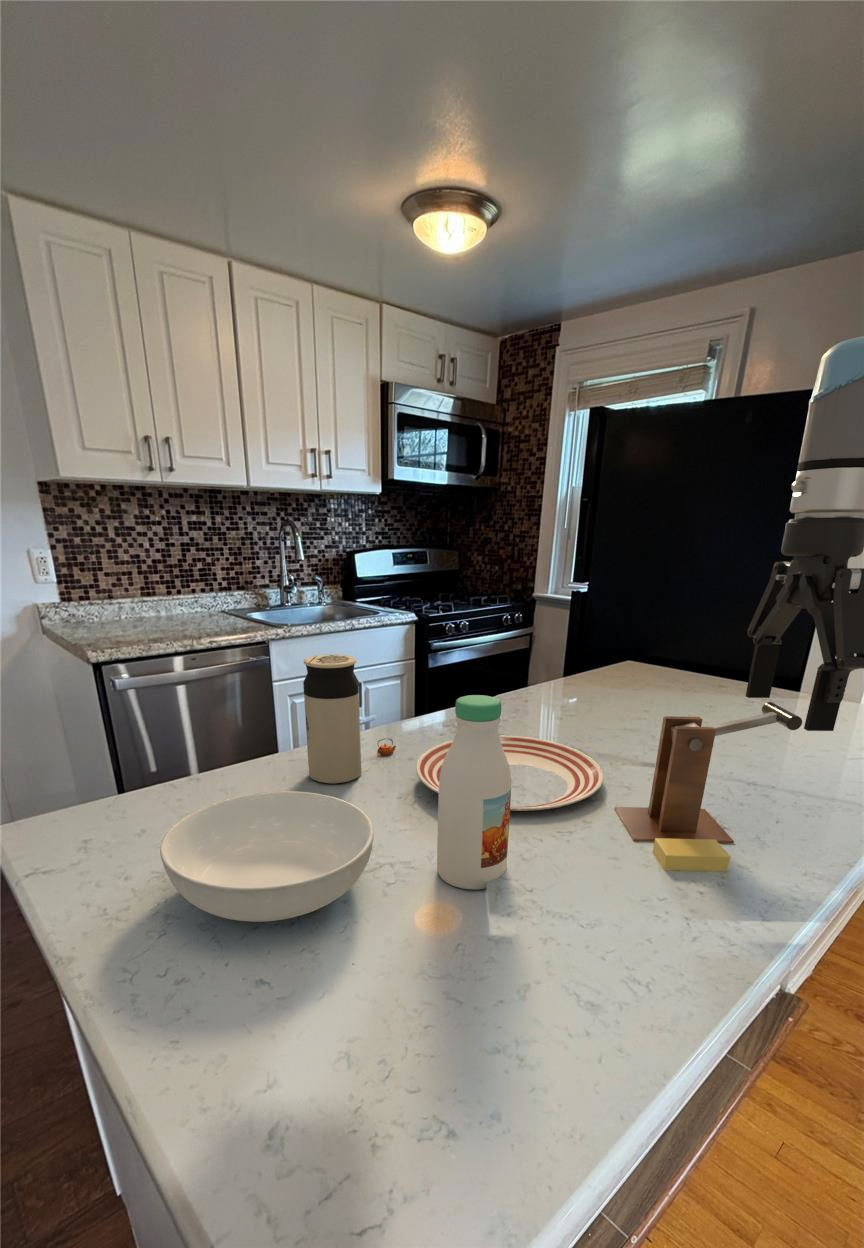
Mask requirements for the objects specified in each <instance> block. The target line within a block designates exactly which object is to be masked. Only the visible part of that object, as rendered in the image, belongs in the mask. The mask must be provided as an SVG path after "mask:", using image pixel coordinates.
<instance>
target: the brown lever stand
mask: <svg viewBox="0 0 864 1248" xmlns="http://www.w3.org/2000/svg"><path fill="white" fill-rule="evenodd" d="M689 723H695V724H696V725H698V726H699V727H682V726H681V725H685V724H689ZM702 725H703V718H701V717H700V716H672V715H671V716H670V715H669V716H668V715H664V716H663V717H662V723H661V730H660V736H659V742H658V748H657V756H656V761H655V767H654V771H653V773H654V774H653V779H652V785H651V792H650V798H649V803H648V804H649V805H648V807H641V806H640V807H637V806H614V808H613V809H614V811H615V813H616V815H617V816H618V818H619V819H620V822H622V824H623V826H624V828H625V830H626V831H627V833H628V835H629V836H630V838H631V840H632V841H633V842H641V843H643V842H645V843H646V842H647V843H649V842H650V843H654V842H655V838H665V839H711V840H716V841H717V842H718V843H719V844H734V843H735V840H734V839H733V838H732V837H731V836H730V835H729V833H727V832H726V831H725V829H724V828H723V827H722V826H721V825H720V824H719V823H718V822H717V821H716V819H715V818H714V817H713V816H712V815H711V814H710V813H709V812H708V811H707V810H706V809H705V808H702V804H703V798H704V793H705V788H706V784H707V779H708V773H709V767H710V763H711V759H712V753H713V748H714V742H715V738H716V736H715V733H716V729H715V728H713V727H708V726H702ZM672 727H675V731H674V736H673V742H672V735H671V728H672Z"/></svg>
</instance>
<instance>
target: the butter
mask: <svg viewBox="0 0 864 1248" xmlns="http://www.w3.org/2000/svg"><path fill="white" fill-rule="evenodd" d="M652 853H653V856H654V857H655V858H656V861H658V863H659V865H660V866H661V868H662V869H663V871H689V872H691V871H692V872H693V871H695V872H728V870H729V866H730V862H731V856H730V854H729V853H728V852H727V851H726V850H725V848H724V847H723V846H722V845H721V843H718V842H717V841H716V840H711V839H665V838H655V842H653V847H652Z"/></svg>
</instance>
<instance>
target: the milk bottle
mask: <svg viewBox="0 0 864 1248" xmlns="http://www.w3.org/2000/svg"><path fill="white" fill-rule="evenodd" d="M454 707H455V708H454V711H455V712H454V713H455V718H454V720H455V722H456V725H457V726H456V731H455V734H454V738H453V739H452V740H453V742H452V745H451V747H450V749H449V751H448V752H447V754H446V757H445V759H444V761H443V764H442V768H441V772H440V780H439V793H438V797H437V798H438V799H437V801H438V803H437V840H436V841H437V842H436V843H437V844H436V847H437V848H436V869H437V872H438V875H439V876H440V878H441V879H442V880H443V881H444V882H445V883H447V884H449V885H450V886H453V887H456V888H459V889H465V890H484V889H487V888H488V887H487V886H488V885H487V882H489V881H493V880H496V879H497V878H499V877H501V876H502V875H504V873H505V872H506V870H507V863H508V848H509V833H510V819H511V810H510V807H511V801H512V773H511V768H510V765H509V763H508V760H507V757H506V755H505V753H504V750H503V748H502V745H501V742H500V738H499V735H500V734H499V733H500V732H499V724H500V723H501V721H502V720H501V716H502V701H501V700H500V699H499V698H497V697H494V696H491V695H490V696H489V695H484V694H483V695H481V694H470V695H464V696H463V695H462V696H460V697H458V698H457V699H456V700H455V706H454Z"/></svg>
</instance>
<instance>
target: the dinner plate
mask: <svg viewBox="0 0 864 1248" xmlns="http://www.w3.org/2000/svg"><path fill="white" fill-rule="evenodd" d="M499 738H500V742H501V745H502V748H503V750H504V753H505V755H506V757H507V760H508V763H509V766H529V767H530V766H531V767H534V768H537V769H541V770H543V771H544V770H545V771H548V772H551V773H554V774H555V775H557V776H559V777H560V778H562V779H563V780H564V781H565V782H566V785H567V789H566V791H565V793H563V794H562V795H561V796H560V797H558V798H557V799H554V800H552V801H549V802H546V803H543V804H537V805H529V806H510V812H511V811H513V812H514V811H515V812H516V811H517V812H519V811H521V812H523V811H524V812H528V811H543V810H549V809H555V808H561V807H565V806H569V805H573V804H575V803H578V802H580V801H583V800H585V799H587V798H589V797H591V796H592V795H594V794H595V793H596V792H597V791H598V790H599V789H600V788H601V787H602V785H603V782H604V772H603V770H602V768H601V766H600V765H599V764H598V763H597V761H595V760H594V759H593V758H591V757H590V756H589V755H587V754H586V753H584V752H582V751H580V750H578V749H576V748H574V747H571V746H568V745H565V744H563V743H559V742H556V741H552V740H547V739H542V738H536V737H529V736H520V735H500V734H499ZM453 740H454V739H452V740H448V741H445V742H442V743H440V744H437V745H435V746H432V747H431V748H429V749H427V750H426V751H425V752H424V753H422V754H421V755H420V756H419V758H418V760H417V762H416V764H415V773H416V775H417V777H418V779H419V780H420V781H421V782H422V783H423V784H424V785H425V786H426V787H427V788H428V789H430V790H431V791H433V792H435V793H437V794H439V780H440V772H441V768H442V764H443V761H444V759H445V757H446V754H447V752H448V751H449V749H450V747H451V745H452V742H453Z"/></svg>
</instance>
